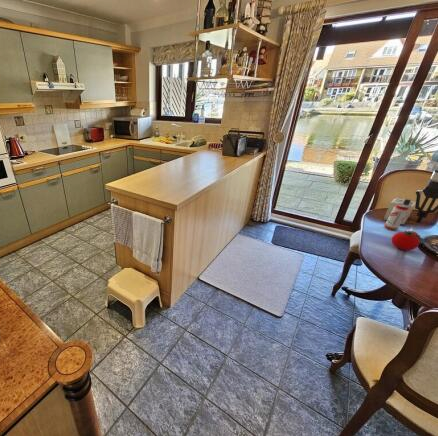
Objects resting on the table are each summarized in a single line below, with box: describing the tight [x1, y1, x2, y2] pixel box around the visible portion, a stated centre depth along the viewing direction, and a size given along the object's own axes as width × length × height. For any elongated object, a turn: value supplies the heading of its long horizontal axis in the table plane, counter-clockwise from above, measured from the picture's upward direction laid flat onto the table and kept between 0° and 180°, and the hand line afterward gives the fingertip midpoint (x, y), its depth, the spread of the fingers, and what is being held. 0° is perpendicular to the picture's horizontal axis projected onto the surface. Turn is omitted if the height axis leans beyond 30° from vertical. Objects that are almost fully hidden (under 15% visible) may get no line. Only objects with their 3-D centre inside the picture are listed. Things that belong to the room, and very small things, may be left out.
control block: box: [417, 234, 424, 247], centre depth 139 cm, size 10×8×4 cm
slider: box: [403, 198, 412, 205], centre depth 154 cm, size 2×2×3 cm
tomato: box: [390, 229, 419, 251], centre depth 131 cm, size 10×10×10 cm
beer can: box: [384, 204, 408, 231], centre depth 149 cm, size 6×6×16 cm
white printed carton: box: [382, 197, 416, 226], centre depth 161 cm, size 10×12×13 cm
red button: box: [407, 230, 419, 236], centre depth 138 cm, size 4×4×2 cm
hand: (418, 222), depth 135 cm, fingers closed
